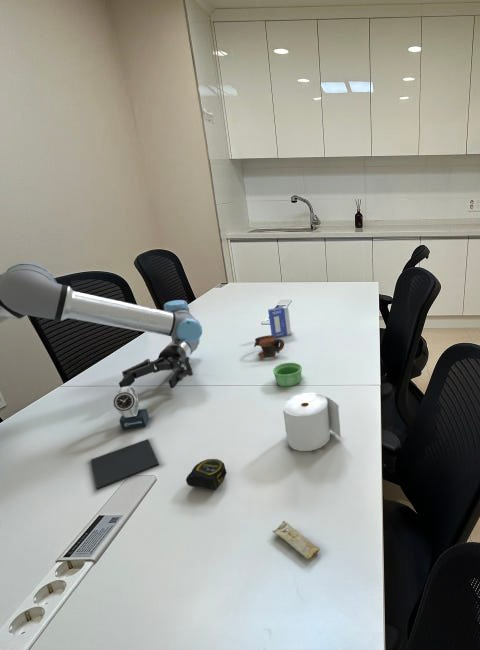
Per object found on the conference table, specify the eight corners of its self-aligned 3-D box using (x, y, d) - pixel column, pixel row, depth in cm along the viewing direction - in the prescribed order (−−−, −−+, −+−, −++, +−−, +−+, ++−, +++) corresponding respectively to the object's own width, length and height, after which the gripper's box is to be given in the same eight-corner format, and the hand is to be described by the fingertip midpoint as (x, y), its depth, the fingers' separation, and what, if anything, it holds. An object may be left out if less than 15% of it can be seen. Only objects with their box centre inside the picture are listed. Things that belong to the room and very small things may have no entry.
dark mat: (91, 460, 90) (91, 459, 90) (148, 440, 97) (147, 438, 97) (97, 489, 82) (96, 487, 82) (159, 464, 89) (158, 463, 88)
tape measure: (186, 489, 81) (182, 475, 80) (207, 468, 87) (204, 454, 86) (214, 495, 79) (210, 481, 78) (234, 473, 85) (231, 459, 84)
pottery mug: (251, 361, 140) (247, 338, 141) (264, 361, 149) (260, 340, 150) (281, 353, 138) (277, 331, 138) (292, 354, 147) (288, 333, 148)
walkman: (274, 338, 159) (270, 310, 154) (271, 336, 161) (267, 308, 156) (291, 333, 163) (288, 306, 158) (289, 331, 165) (285, 304, 160)
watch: (120, 434, 100) (107, 398, 95) (128, 418, 107) (116, 383, 102) (144, 430, 101) (133, 394, 97) (150, 414, 108) (140, 379, 104)
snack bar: (321, 547, 67) (308, 555, 64) (319, 555, 67) (307, 563, 64) (285, 519, 72) (272, 525, 70) (283, 527, 72) (271, 533, 70)
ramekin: (294, 389, 119) (292, 376, 118) (269, 385, 122) (267, 372, 120) (307, 376, 127) (306, 364, 125) (283, 372, 130) (282, 361, 128)
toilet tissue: (282, 433, 98) (277, 399, 94) (326, 420, 103) (323, 387, 99) (294, 457, 90) (289, 420, 86) (341, 441, 95) (339, 406, 91)
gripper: (214, 363, 132) (194, 394, 112) (139, 367, 130) (104, 400, 111) (210, 342, 129) (188, 371, 109) (133, 347, 127) (96, 376, 108)
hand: (146, 385), depth 110 cm, fingers open, 13 cm apart
